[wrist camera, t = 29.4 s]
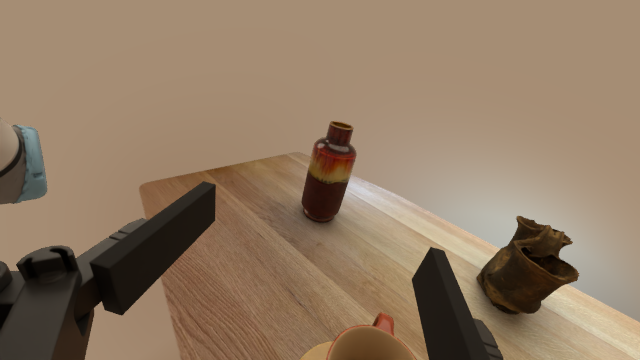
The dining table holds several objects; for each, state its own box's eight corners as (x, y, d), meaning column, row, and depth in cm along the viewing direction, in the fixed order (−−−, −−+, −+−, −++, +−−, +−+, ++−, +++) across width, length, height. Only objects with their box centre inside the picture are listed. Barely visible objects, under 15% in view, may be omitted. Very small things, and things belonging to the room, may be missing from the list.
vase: (341, 209, 72) (367, 127, 60) (330, 230, 62) (360, 136, 50) (307, 197, 74) (327, 115, 62) (293, 215, 64) (312, 122, 52)
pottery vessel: (521, 353, 43) (604, 281, 34) (461, 308, 49) (518, 237, 40) (529, 283, 61) (585, 223, 52) (483, 256, 67) (527, 198, 58)
